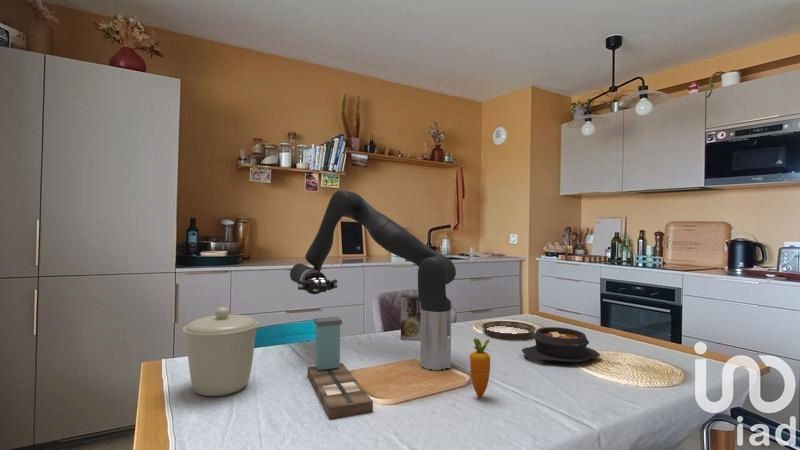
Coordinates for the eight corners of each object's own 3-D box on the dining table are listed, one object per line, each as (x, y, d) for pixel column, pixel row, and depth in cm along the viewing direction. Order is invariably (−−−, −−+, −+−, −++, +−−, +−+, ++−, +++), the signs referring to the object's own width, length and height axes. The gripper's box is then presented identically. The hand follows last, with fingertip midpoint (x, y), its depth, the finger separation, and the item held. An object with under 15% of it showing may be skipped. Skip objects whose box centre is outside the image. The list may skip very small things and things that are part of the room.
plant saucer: (482, 340, 154) (482, 331, 154) (481, 327, 175) (481, 319, 175) (539, 343, 151) (539, 334, 151) (531, 329, 171) (531, 321, 171)
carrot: (491, 395, 103) (491, 335, 103) (488, 403, 98) (489, 341, 98) (471, 392, 105) (471, 334, 105) (468, 400, 100) (468, 339, 100)
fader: (313, 365, 115) (314, 318, 115) (337, 362, 118) (337, 316, 118) (316, 370, 111) (317, 322, 111) (341, 367, 113) (341, 320, 113)
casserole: (541, 370, 122) (541, 342, 122) (511, 351, 140) (511, 327, 140) (614, 365, 127) (614, 338, 127) (576, 347, 145) (576, 324, 145)
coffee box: (425, 336, 159) (425, 294, 159) (424, 340, 152) (424, 297, 152) (401, 335, 159) (402, 293, 160) (400, 339, 153) (400, 296, 153)
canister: (181, 409, 93) (182, 317, 94) (182, 382, 109) (183, 303, 110) (263, 395, 102) (264, 310, 102) (253, 372, 118) (254, 299, 118)
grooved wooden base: (307, 375, 115) (307, 366, 115) (342, 371, 119) (342, 362, 119) (329, 419, 89) (329, 407, 89) (372, 412, 93) (372, 400, 93)
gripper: (292, 270, 133) (300, 276, 117) (332, 269, 139) (345, 274, 122) (292, 293, 133) (300, 302, 117) (332, 291, 138) (345, 300, 122)
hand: (323, 288), depth 120 cm, fingers closed
